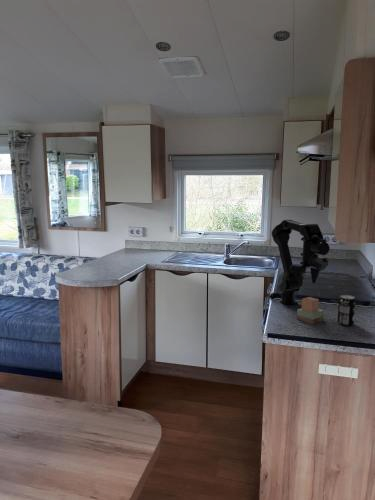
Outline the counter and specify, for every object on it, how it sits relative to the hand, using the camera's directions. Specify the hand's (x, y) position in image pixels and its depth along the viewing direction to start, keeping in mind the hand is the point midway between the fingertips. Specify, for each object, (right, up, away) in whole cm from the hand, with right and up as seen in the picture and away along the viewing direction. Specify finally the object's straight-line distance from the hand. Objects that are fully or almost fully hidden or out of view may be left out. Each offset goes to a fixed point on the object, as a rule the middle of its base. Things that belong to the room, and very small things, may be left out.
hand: (307, 284), depth 180 cm
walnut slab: (-2, -15, -8) cm, 17 cm away
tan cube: (-2, -10, -10) cm, 14 cm away
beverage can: (+12, -16, -13) cm, 24 cm away
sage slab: (-1, -13, -9) cm, 15 cm away
